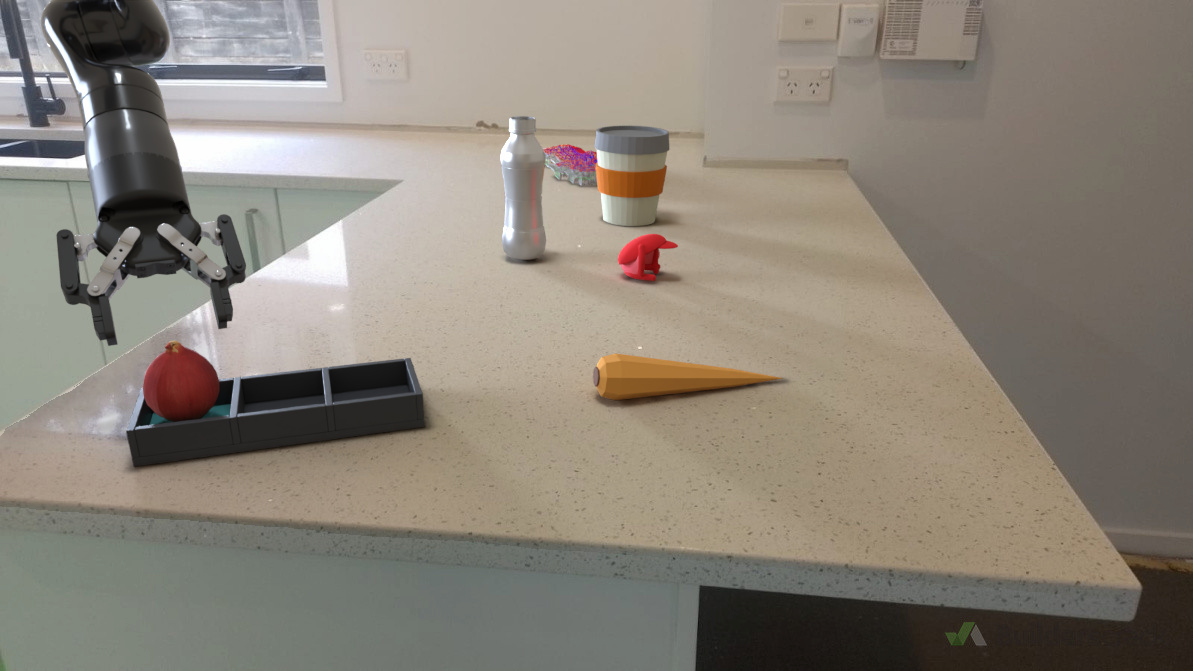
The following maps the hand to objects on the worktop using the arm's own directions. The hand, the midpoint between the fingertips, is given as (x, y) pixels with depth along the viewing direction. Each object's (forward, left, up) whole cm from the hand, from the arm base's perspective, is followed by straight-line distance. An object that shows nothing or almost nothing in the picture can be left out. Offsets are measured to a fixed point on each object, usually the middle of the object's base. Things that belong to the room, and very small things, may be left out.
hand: (169, 333), depth 71 cm
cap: (+55, +27, -9) cm, 62 cm away
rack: (+8, -3, -9) cm, 12 cm away
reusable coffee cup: (+64, +57, -9) cm, 87 cm away
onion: (+1, -2, -8) cm, 8 cm away
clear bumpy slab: (+68, +97, -9) cm, 119 cm away
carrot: (+46, -7, -9) cm, 48 cm away
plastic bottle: (+41, +40, -9) cm, 59 cm away
